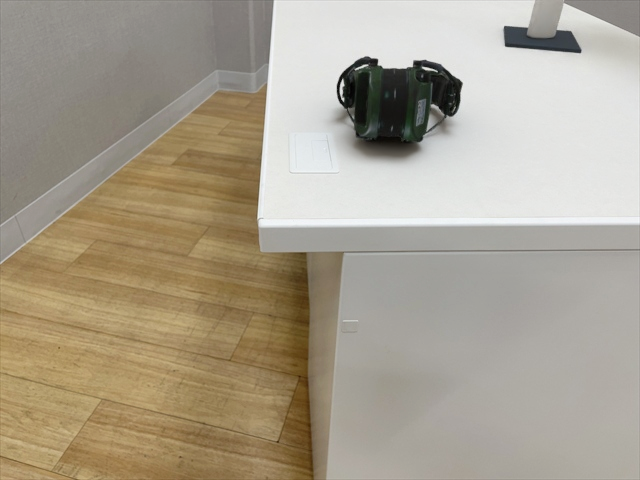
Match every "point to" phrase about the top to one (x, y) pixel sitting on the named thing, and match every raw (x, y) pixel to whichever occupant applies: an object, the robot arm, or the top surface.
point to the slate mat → (540, 40)
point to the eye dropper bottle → (545, 18)
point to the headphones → (397, 98)
